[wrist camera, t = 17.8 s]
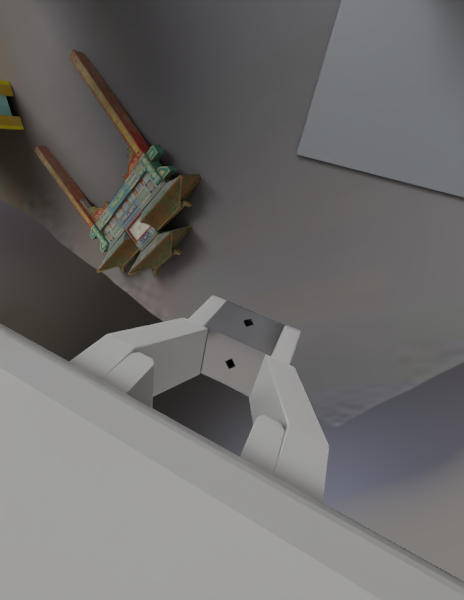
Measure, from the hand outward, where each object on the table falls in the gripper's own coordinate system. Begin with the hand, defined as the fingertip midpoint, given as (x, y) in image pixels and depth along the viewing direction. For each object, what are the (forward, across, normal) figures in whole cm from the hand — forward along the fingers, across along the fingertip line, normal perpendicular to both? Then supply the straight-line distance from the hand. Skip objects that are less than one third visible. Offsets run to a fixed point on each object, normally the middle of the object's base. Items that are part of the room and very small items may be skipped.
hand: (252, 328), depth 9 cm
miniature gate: (+32, +33, +8) cm, 47 cm away
